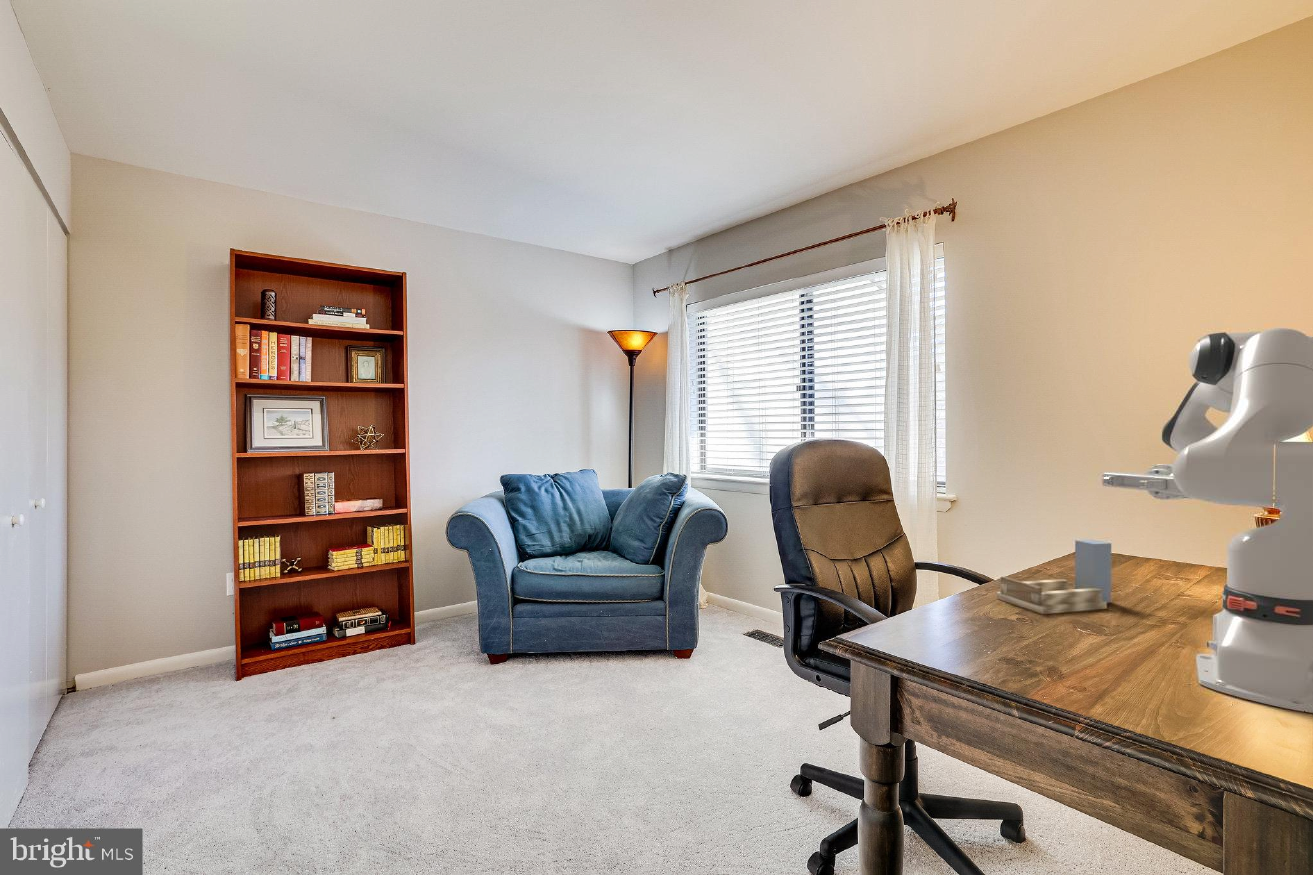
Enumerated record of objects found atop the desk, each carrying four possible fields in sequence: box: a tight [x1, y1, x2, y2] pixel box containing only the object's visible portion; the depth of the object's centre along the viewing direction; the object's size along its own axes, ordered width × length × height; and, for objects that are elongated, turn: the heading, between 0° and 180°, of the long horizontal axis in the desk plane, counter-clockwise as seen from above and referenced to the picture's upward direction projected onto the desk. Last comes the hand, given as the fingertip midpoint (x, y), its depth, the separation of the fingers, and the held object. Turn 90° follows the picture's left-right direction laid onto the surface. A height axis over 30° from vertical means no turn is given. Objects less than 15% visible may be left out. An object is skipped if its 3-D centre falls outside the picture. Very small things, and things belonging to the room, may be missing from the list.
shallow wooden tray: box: [995, 576, 1108, 615], centre depth 145 cm, size 18×13×6 cm
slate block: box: [1074, 539, 1112, 604], centre depth 148 cm, size 5×5×14 cm
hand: (1123, 482), depth 151 cm, fingers open, 8 cm apart
